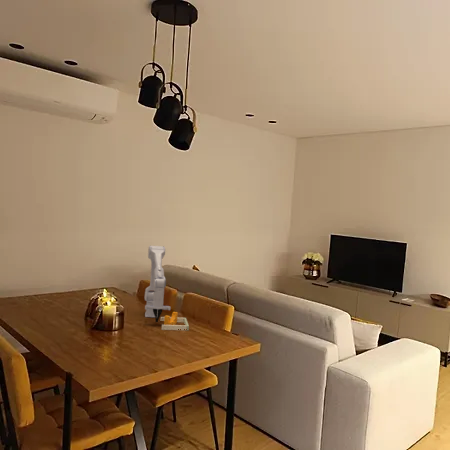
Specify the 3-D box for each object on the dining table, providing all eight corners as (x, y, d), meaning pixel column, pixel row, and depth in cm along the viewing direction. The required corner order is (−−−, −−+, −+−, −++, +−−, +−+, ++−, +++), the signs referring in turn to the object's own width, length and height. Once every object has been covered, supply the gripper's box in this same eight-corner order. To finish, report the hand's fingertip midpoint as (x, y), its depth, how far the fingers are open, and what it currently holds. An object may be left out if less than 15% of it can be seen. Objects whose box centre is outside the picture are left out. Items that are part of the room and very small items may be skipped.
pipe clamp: (170, 328, 246) (171, 317, 245) (163, 327, 247) (164, 316, 247) (179, 323, 257) (180, 312, 257) (173, 322, 258) (173, 311, 258)
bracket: (160, 321, 258) (160, 316, 258) (185, 321, 261) (185, 317, 261) (161, 329, 241) (162, 325, 241) (188, 330, 244) (188, 326, 244)
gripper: (145, 299, 243) (144, 323, 244) (171, 300, 246) (169, 324, 246) (145, 297, 250) (144, 320, 251) (170, 298, 253) (168, 320, 253)
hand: (156, 321), depth 249 cm, fingers closed
